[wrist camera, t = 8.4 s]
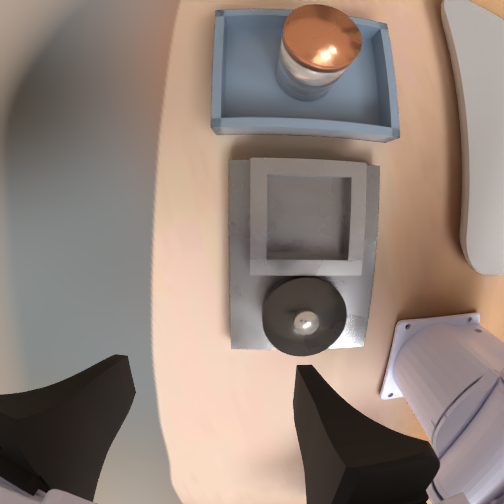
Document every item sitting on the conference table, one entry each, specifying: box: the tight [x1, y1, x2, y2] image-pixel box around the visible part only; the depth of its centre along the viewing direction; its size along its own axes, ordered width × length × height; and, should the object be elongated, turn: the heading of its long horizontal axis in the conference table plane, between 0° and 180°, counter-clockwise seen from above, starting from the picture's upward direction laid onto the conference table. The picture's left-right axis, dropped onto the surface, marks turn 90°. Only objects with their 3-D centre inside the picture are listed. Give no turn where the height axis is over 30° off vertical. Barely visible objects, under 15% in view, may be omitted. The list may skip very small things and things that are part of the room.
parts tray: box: [211, 9, 400, 143], centre depth 17 cm, size 12×9×2 cm
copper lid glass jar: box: [276, 4, 362, 102], centre depth 15 cm, size 4×4×6 cm
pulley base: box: [229, 158, 380, 356], centre depth 19 cm, size 10×13×3 cm
